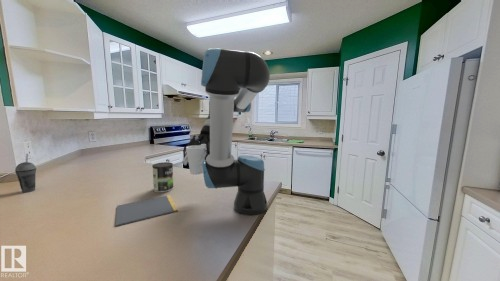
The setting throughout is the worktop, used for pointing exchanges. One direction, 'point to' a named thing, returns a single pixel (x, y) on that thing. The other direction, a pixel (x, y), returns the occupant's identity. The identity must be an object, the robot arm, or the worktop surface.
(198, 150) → the foam cup
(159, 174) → the coffee can
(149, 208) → the mat
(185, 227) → the worktop surface
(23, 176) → the beverage cup
